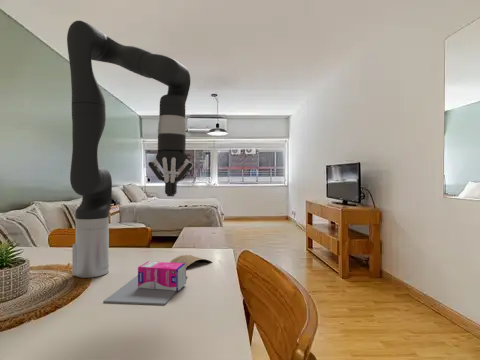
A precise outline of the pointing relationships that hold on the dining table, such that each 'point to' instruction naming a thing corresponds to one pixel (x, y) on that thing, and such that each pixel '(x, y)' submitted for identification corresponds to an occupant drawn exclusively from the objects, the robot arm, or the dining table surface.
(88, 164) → the robot arm
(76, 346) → the dining table surface
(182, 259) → the clay tablet
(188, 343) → the dining table surface
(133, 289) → the rubber mat
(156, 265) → the supplement box
